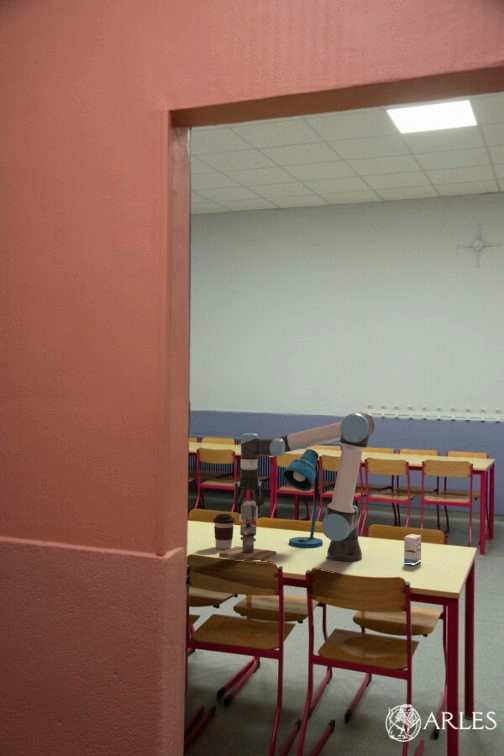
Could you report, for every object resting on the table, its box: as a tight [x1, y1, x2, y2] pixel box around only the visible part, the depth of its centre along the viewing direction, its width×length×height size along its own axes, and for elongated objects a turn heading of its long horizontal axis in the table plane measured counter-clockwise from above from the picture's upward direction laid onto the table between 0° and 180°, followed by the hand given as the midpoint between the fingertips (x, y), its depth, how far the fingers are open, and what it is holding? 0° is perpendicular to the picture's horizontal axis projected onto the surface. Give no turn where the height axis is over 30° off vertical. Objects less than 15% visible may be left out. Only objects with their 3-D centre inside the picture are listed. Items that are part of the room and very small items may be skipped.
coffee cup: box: [212, 513, 236, 550], centre depth 343 cm, size 10×10×15 cm
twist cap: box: [239, 500, 257, 537], centre depth 328 cm, size 12×7×14 cm, turn 168°
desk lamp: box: [281, 448, 324, 549], centre depth 352 cm, size 16×22×45 cm
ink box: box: [403, 533, 422, 564], centre depth 318 cm, size 9×5×12 cm, turn 148°
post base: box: [218, 536, 277, 561], centre depth 328 cm, size 20×16×9 cm
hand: (248, 520), depth 328 cm, fingers closed on twist cap, 6 cm apart
